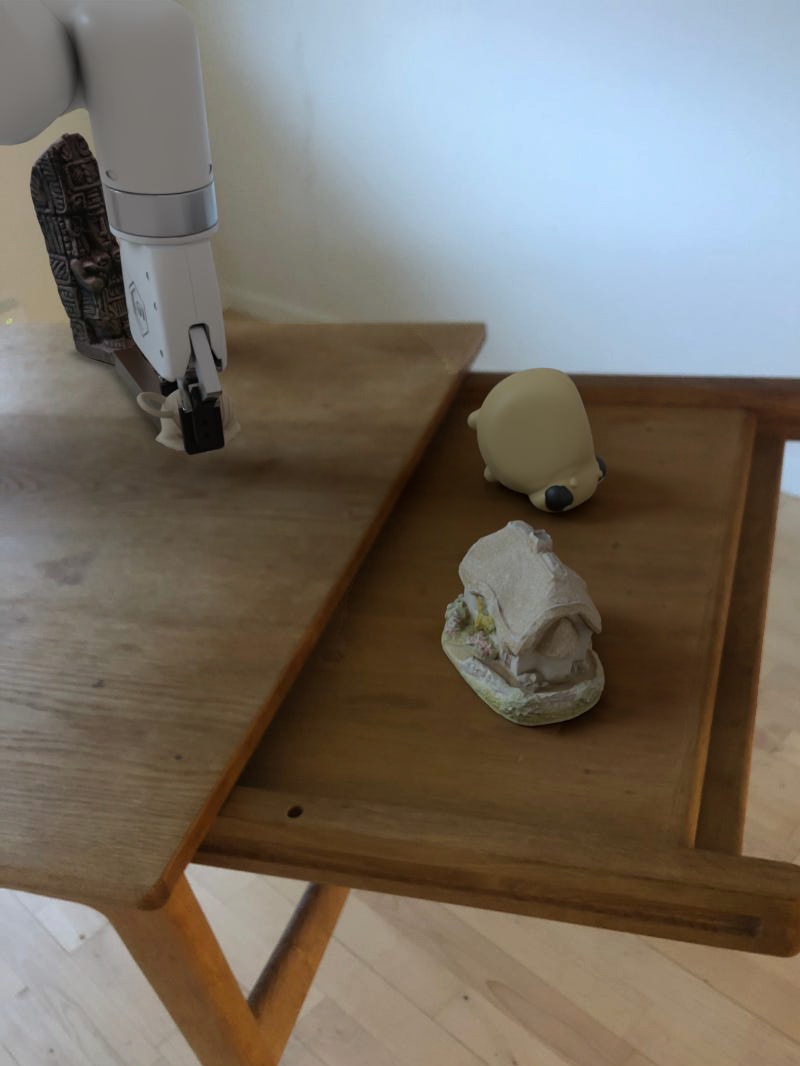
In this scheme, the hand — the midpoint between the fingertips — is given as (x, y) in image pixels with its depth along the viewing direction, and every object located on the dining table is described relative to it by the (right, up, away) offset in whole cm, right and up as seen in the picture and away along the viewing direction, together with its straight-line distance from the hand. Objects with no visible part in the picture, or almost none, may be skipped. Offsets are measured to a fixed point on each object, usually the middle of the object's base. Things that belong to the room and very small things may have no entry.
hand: (195, 435), depth 80 cm
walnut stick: (-7, +6, +10) cm, 14 cm away
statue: (-14, +13, +18) cm, 26 cm away
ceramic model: (+27, -18, -13) cm, 35 cm away
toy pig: (+28, -4, +4) cm, 29 cm away
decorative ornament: (0, -1, +1) cm, 1 cm away
